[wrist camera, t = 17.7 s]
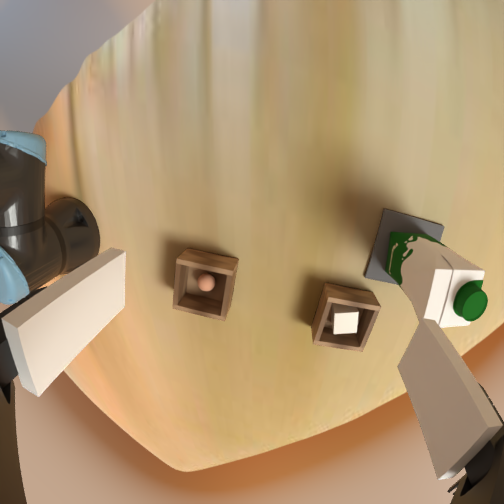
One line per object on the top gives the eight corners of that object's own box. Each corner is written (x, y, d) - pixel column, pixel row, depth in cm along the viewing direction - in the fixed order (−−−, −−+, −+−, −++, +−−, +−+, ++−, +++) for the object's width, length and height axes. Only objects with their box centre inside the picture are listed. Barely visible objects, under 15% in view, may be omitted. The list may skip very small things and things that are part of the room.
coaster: (364, 276, 49) (365, 277, 49) (384, 208, 45) (385, 209, 45) (421, 288, 49) (423, 289, 48) (442, 225, 45) (444, 226, 44)
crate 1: (182, 294, 54) (172, 308, 49) (187, 247, 51) (176, 258, 46) (230, 305, 54) (224, 321, 49) (238, 258, 51) (233, 271, 46)
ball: (199, 284, 52) (194, 291, 50) (201, 269, 52) (196, 275, 49) (215, 288, 52) (211, 296, 50) (218, 272, 51) (214, 279, 49)
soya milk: (423, 277, 47) (478, 337, 28) (378, 275, 48) (420, 342, 29) (432, 228, 45) (498, 271, 26) (385, 225, 46) (439, 270, 27)
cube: (330, 322, 52) (333, 334, 48) (331, 302, 51) (334, 313, 47) (352, 320, 51) (356, 332, 48) (354, 300, 50) (358, 312, 46)
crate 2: (311, 326, 53) (313, 344, 48) (324, 282, 50) (328, 296, 45) (356, 334, 53) (362, 351, 48) (372, 292, 50) (381, 306, 45)
